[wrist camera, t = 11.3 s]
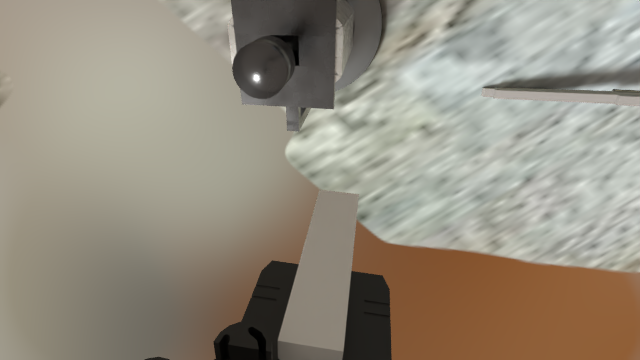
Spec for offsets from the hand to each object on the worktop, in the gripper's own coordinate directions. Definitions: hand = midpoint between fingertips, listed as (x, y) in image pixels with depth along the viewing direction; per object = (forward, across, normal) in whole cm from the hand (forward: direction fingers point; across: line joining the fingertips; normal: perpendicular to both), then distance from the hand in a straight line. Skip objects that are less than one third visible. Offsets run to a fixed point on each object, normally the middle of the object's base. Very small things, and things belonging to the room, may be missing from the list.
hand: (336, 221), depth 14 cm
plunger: (+29, -7, +2) cm, 30 cm away
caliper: (+35, +25, -2) cm, 43 cm away
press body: (+34, -6, +1) cm, 34 cm away
